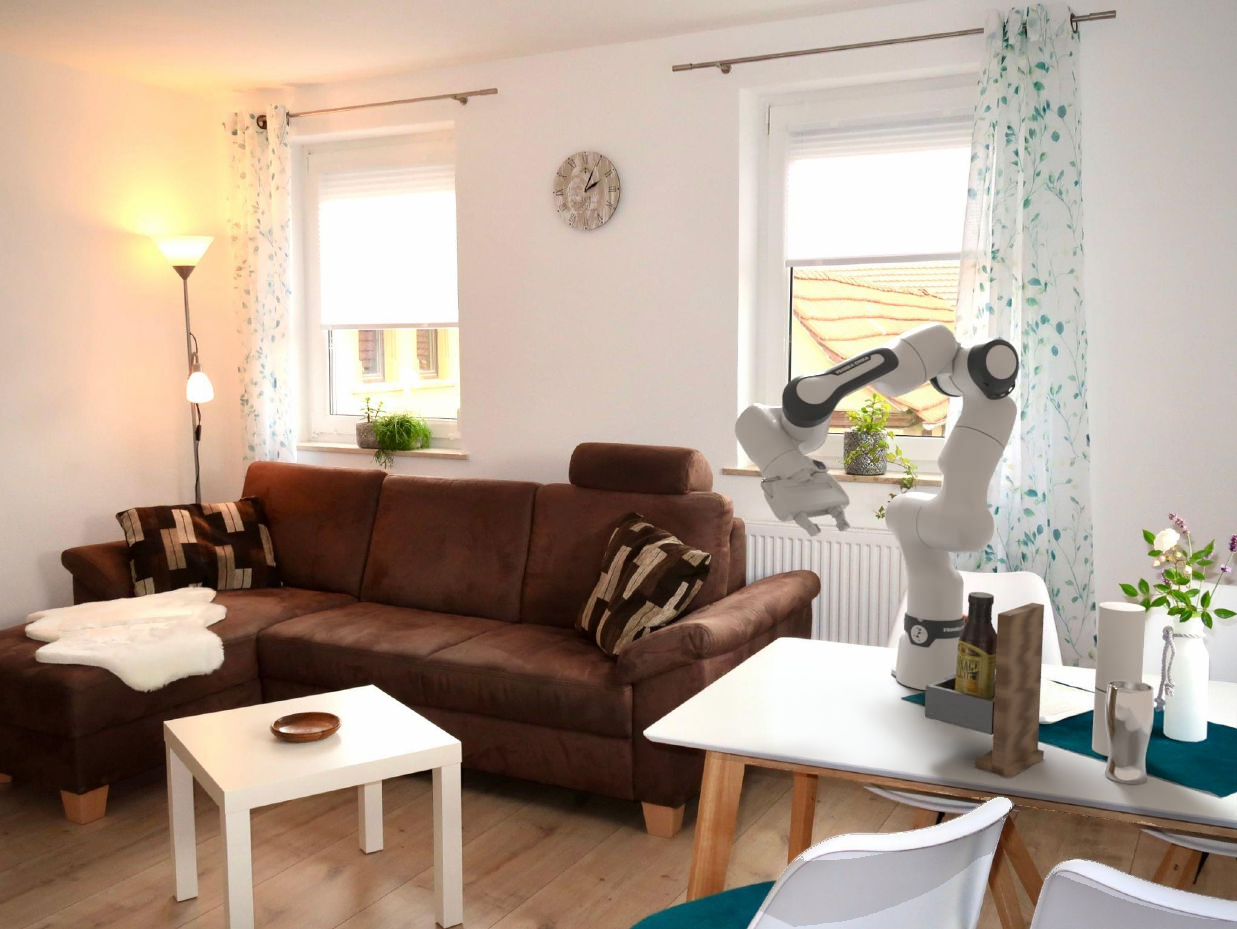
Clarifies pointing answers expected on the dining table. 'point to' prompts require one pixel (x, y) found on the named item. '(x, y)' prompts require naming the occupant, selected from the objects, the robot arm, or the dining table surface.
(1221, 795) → the dining table surface
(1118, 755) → the beer glass
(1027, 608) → the wall board
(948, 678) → the open rectangular box
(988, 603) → the sauce bottle
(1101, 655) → the cylindrical container
